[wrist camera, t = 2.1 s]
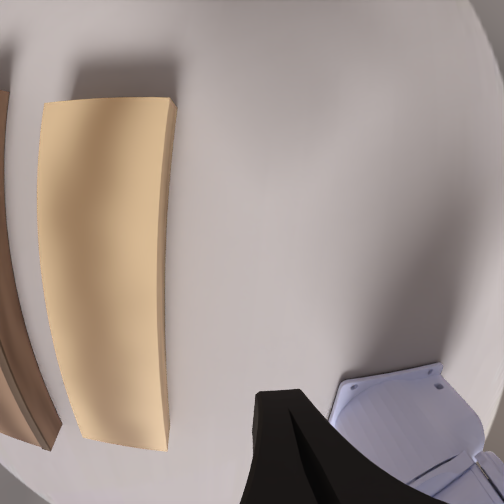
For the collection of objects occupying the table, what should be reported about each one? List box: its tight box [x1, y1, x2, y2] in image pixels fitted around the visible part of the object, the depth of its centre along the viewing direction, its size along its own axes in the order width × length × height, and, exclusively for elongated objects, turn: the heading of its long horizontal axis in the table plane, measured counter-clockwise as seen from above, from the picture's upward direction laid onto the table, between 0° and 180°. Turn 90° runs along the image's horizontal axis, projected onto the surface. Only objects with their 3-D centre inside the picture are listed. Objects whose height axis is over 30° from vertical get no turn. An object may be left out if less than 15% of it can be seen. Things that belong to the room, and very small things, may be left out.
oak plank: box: [37, 97, 177, 451], centre depth 14 cm, size 6×20×3 cm, turn 173°
